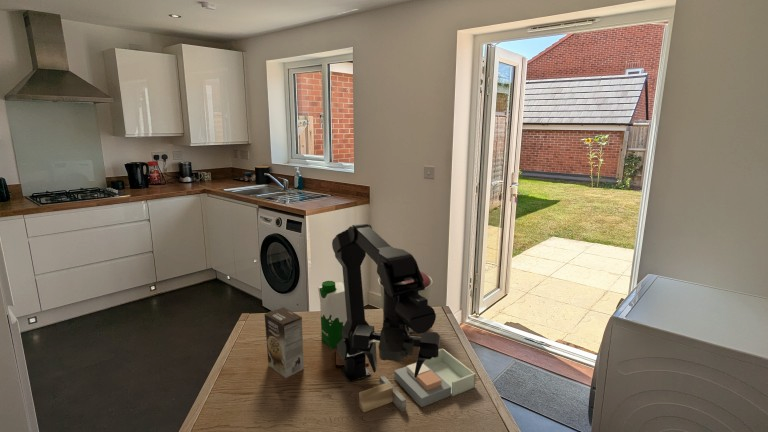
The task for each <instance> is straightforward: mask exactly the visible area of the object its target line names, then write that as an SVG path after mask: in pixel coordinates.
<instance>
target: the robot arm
mask: <svg viewBox="0 0 768 432" xmlns="http://www.w3.org/2000/svg"><path fill="white" fill-rule="evenodd" d="M331 246H332V247H331V248H332V251H333V252H334V256H335V259H336V260H337V261H338V263H339V264H340V265H341V268H342V269H341V270H342V278H343V279H342V280H343V284H344V291H345V302H346V314H347V321H346V323H345V325H344V327H343V329H342V339H341V341H340V342H339V343H338V344H337V348H336V349H337V354H338V355H339V356H340V357H341V358H342V360H343V361H344V366H342V367H341V368H340V372H341V373H342V374H343V375H344V377H345V378H346V379H347V381H348V382H354V381H357V380H359V379H360V380H361V379H362V378H366V377H369V376H371V375H372V374H371V371H370V370H369V369H368V368H367V365H366V362H367V360H366V359H368V362H369V364H370V366H371V369H372V371H373V373H376V372H377V368H378V367H377V365H378V363H377V362H378V361H377V359H378V358H377V343H378V356H379V359H380V360H382V361H392V362H395V363H400V362H402V361H403V359H404V358H407V357H408V356H412V355H413V351H414V347H416V348H418V353H417V359H416V362H415V363H416V368H415V378H416V377H417V375H418V373H419V371H420V368H421V366H422V364H423V363H424V361H425V360H427V359H428V360H430V359H432V357H433V358H436V357H438V353H439V349H440V339H441V337H440V335H439V333H438V332H432V331H429V330H431V328H432V327H433V326H434V324H435V322H436V318H437V314H436V311H435V309H434V308H433V307H432V306H431V305H429V301H428V300H427V299H426V298H425V297H422V296H421V295H419V294H418V291H421V290H425V287H424V284H423V281H424V279H423V277H422V275H421V272H422V271H420V268H419V266H418V262H417V260H416V258H415V256H414V255H413V254H412V253H410V252H408V251H407V250H405V249H402V248H397V247H393V246H392V245H390V244H389V243H388V242H387V241H386V240H385V239H383V237H381V236H380V234H378V233H377V232H376V231H375V230H373V227H372V225H371V224H370V223H359V224H353V225H351V226H349V227H348V228H347V229H345V230H343V231H341V232H339V233H337V234H336V235H335V237H334V238H333V239H332V241H331ZM366 255H368V257H369V258H370V259H372V261H373V262H374V263H375V264H376V266H377V267H376V274H377V275H378V276H379V277H380V279H381V281H380V284H381V285H382V286H383V287H384V310H383V309H382V311H383V315H382V316H383V319H382V321H383V322H382V327H381V330H380V332H375V325H370V324H369V323H368V322H367V320H366V313H365V304H364V303H365V302H364V289H363V280H362V264H363V262H364V260H365V258H366ZM379 277H378V278H379ZM412 279H413V280H414V282H412V283H407V284H403V283H402V282H403V281H408V280H412ZM410 328H411V329H412V330H413V331H414V332H413V333H416V334H419V335H420V334H421V336H411V335H410V333H409V329H410Z"/></svg>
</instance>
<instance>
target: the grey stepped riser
mask: <svg viewBox="0 0 768 432" xmlns="http://www.w3.org/2000/svg"><path fill="white" fill-rule="evenodd" d="M423 364H424V365H425V366H426V367H428V366H427V365H426V364H425V363H423ZM407 366H408V365H406V366H403V367H401V368H397V369H395V370H393V371H394V372H393V373H394V375H393V377H394V380H395V381H396V382H397V383H398V384H399V385H400V387H402V389H403V390H404V391H406V393H407V394H408V395H409V396H410V397H411V398H412V399H413V400H414V401H415V402H416V403H417V404H418V406H419V407H420V408H424V407H426V406H428V405H431V404H434V403H435V402H438V401H441V400H443V399H446V398H448V397H450V396H451V397H452V395H451V386H450V385H449V384H447V383H446V382H445V381H444V380H443V379H442V378H441V377H439V376H438V375H437V374H436V373H435V372H434V371H433V370H432V369H430V368H429V367H428V368H429V369H430V371H432V372H433V373H434V374H435V375H437V376H438V377H439V378H440V379H441V380H442V384H441V386H438V387H435V388H433V389H430V390H428V391H427V390H426V389H425V388H423V387H422V386H421V385H420V384H419V383H418V382H417V380H415V379H414V378H413V377H412V376H411V375H410V374H409V373H408V372H407V371H406V367H407Z"/></svg>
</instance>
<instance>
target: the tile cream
mask: <svg viewBox="0 0 768 432" xmlns="http://www.w3.org/2000/svg"><path fill="white" fill-rule="evenodd" d="M416 363H417V362H414V363H411V364H408V365H406V366H407V367H406V366H405V367H406V371H407V372H408V373H409V374H410V375H411V376H412V377H413V378H414V379H415V380H417V377H416V378H415V368H416ZM429 371H430V369H429V368H428V367H426V366H425V365H424V364H422V366H421V368H420V371H419V373H418V375H421V374H423V373H426V372H429ZM418 375H417V376H418Z"/></svg>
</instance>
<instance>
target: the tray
mask: <svg viewBox="0 0 768 432" xmlns="http://www.w3.org/2000/svg"><path fill="white" fill-rule="evenodd" d="M424 363H425V364H426V365H427V366H428V367H429V368H430V369H432V370H433V371H434V372H435V373H436V374H437V375H438V376H439V377H441V378H442V379H443V380H444V381H445V382H446V383H447V384H449V385H450V386H451V397H454V396H457V395H460V394H463V393H464V392H467V391H469V390H472V389H475V388H476V373H475V372H474V371H472V370H471V369H470V368H469V367H468V366H466V365H465V364H464V363H462V362H461V361H460V360H459V359H457V358H456V357H454V356H453V354H451V353H450V352H448V351H447V350H446V349H444V348H439V353H438V357H436V358H433V357H432V359H430V360H428V359H427V360H425V361H424Z"/></svg>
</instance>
